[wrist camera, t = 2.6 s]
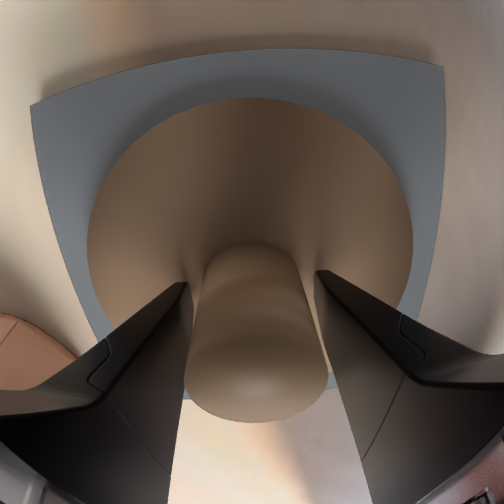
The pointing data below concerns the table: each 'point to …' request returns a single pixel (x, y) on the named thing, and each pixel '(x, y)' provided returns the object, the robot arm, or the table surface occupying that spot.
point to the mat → (244, 86)
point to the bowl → (28, 354)
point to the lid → (249, 242)
